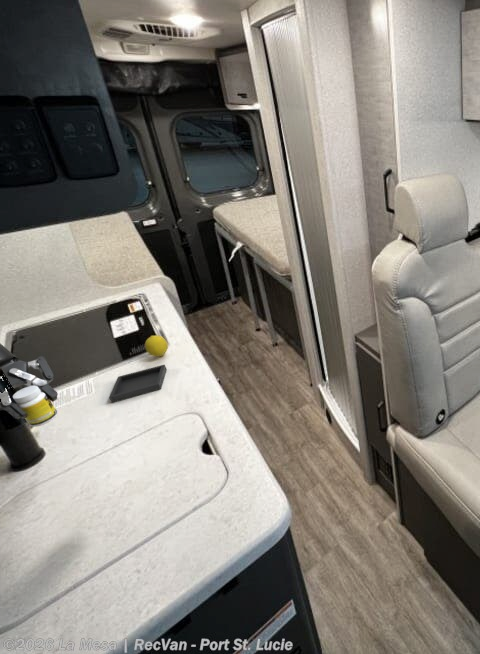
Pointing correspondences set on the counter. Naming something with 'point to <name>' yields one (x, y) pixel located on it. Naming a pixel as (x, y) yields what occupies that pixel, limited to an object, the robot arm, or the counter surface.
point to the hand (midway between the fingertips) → (40, 407)
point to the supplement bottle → (35, 405)
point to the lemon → (156, 345)
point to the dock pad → (138, 383)
